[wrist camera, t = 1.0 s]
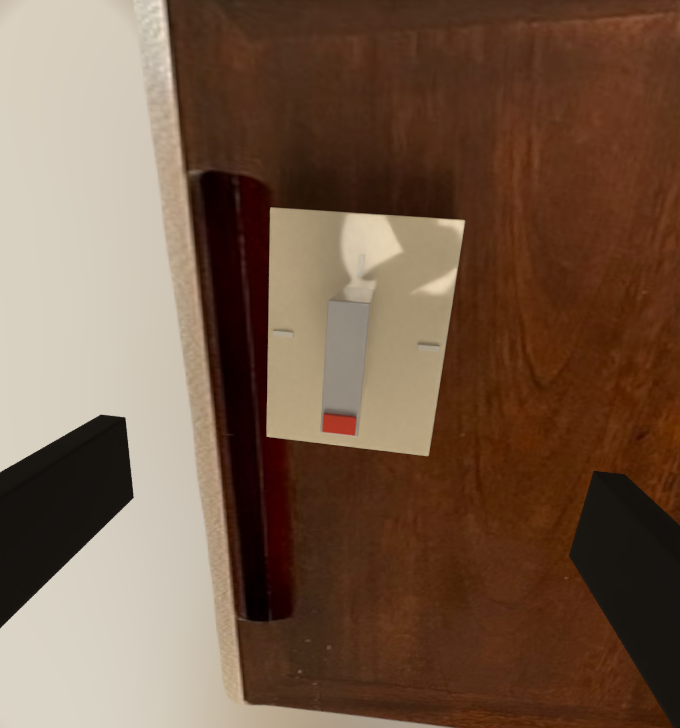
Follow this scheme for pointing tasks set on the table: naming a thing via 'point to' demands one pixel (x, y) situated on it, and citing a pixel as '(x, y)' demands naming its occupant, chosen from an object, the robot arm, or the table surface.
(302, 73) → the table surface
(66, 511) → the robot arm
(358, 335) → the tap lever
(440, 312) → the sink deck
